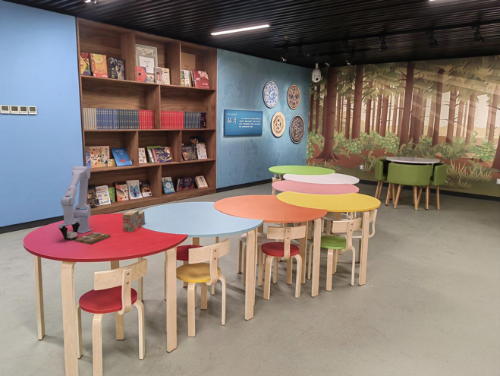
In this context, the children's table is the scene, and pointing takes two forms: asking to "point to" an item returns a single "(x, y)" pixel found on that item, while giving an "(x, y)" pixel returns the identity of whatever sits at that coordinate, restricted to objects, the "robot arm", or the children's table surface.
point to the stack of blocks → (133, 220)
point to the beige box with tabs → (71, 235)
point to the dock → (92, 238)
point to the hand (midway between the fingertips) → (70, 236)
